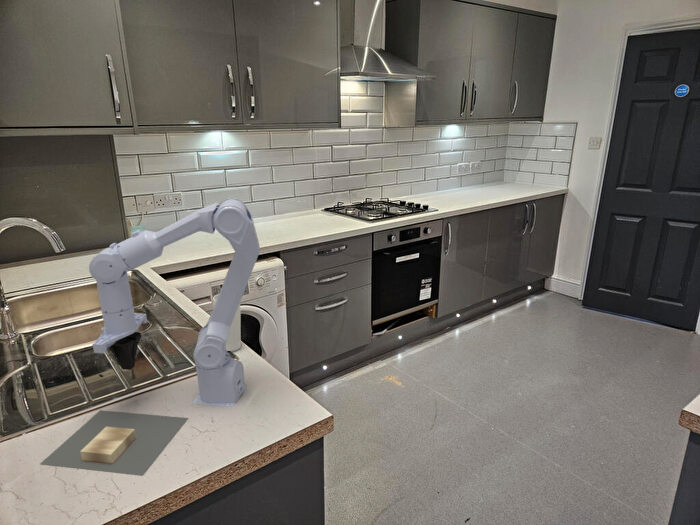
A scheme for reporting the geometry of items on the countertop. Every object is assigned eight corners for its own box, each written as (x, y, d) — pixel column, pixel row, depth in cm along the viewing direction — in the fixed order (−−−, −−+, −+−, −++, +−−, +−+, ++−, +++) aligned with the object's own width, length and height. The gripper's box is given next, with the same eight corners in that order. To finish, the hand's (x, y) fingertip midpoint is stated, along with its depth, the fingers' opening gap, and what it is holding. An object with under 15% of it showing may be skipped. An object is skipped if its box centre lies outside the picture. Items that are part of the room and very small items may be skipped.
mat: (189, 420, 93) (188, 418, 93) (143, 478, 78) (142, 475, 78) (100, 412, 96) (100, 410, 96) (40, 466, 81) (39, 464, 81)
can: (152, 249, 223) (149, 225, 219) (142, 253, 216) (138, 228, 213) (140, 248, 225) (137, 224, 221) (130, 252, 218) (126, 227, 215)
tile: (134, 429, 87) (110, 454, 80) (136, 438, 87) (112, 463, 81) (106, 426, 87) (80, 451, 81) (108, 435, 88) (82, 460, 81)
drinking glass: (246, 342, 126) (242, 291, 122) (240, 354, 120) (235, 301, 115) (222, 342, 126) (217, 291, 122) (214, 354, 120) (208, 301, 115)
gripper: (122, 294, 99) (131, 350, 103) (73, 321, 85) (86, 385, 89) (152, 295, 98) (160, 352, 102) (107, 323, 84) (119, 388, 88)
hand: (128, 367), depth 95 cm, fingers closed
